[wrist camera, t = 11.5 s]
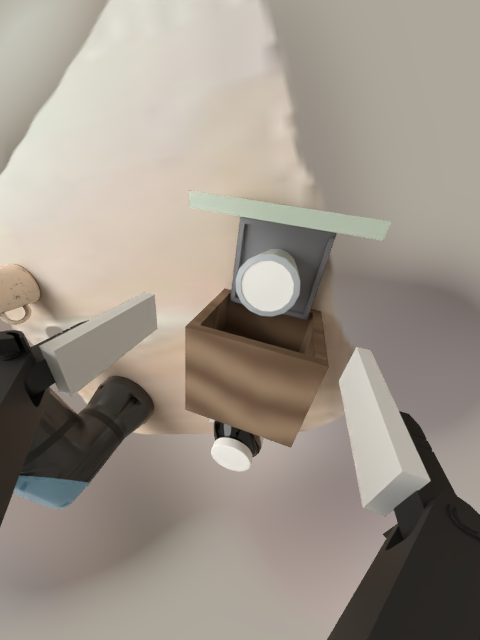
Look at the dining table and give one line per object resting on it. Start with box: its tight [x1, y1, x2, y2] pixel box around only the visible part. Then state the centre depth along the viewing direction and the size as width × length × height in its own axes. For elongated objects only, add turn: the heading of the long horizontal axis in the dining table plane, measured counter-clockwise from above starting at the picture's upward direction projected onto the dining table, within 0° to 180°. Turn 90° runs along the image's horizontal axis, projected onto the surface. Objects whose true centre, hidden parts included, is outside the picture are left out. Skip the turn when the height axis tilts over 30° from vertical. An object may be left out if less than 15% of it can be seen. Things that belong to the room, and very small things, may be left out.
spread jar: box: [209, 418, 263, 472], centre depth 39 cm, size 12×11×12 cm
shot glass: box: [235, 249, 300, 316], centre depth 24 cm, size 7×7×7 cm
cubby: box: [186, 289, 328, 447], centre depth 30 cm, size 14×15×12 cm
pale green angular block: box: [189, 190, 391, 320], centre depth 23 cm, size 13×15×11 cm
